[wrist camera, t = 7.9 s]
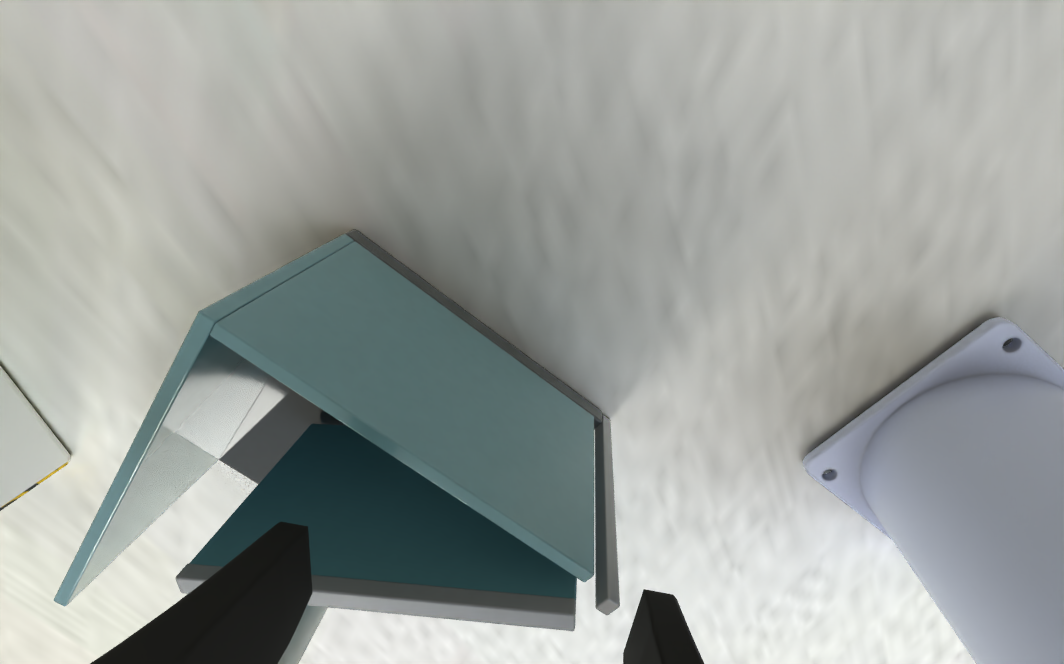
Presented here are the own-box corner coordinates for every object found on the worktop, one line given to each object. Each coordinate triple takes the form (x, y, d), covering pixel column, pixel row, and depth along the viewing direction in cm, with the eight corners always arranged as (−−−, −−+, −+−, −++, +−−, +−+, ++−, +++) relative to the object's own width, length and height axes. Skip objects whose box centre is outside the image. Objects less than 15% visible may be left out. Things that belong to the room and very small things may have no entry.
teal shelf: (577, 546, 21) (570, 746, 15) (333, 527, 22) (225, 705, 16) (581, 437, 19) (575, 615, 12) (311, 421, 20) (173, 577, 14)
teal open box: (612, 418, 20) (623, 605, 13) (441, 580, 25) (376, 785, 17) (354, 227, 18) (187, 316, 11) (222, 443, 23) (42, 610, 15)
